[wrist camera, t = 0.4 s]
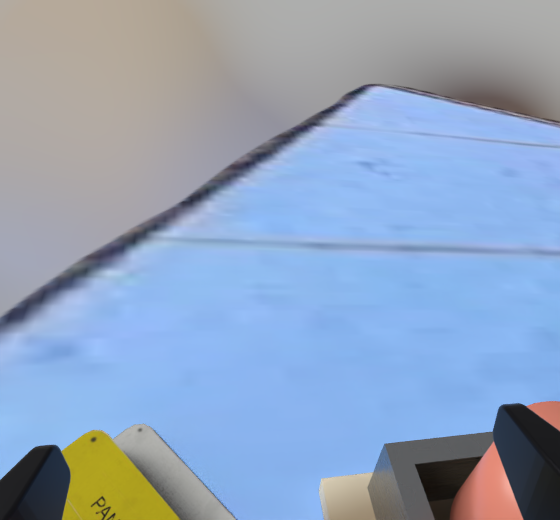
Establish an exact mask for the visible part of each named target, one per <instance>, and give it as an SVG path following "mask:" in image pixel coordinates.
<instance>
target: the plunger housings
mask: <svg viewBox="0 0 560 520" xmlns="http://www.w3.org/2000/svg"><path fill="white" fill-rule="evenodd" d="M493 442H494V440H493V432H486V433H477V434H468V435H459V436H450V437H441V438H432V439H423V440H414V441H405V442H396V443H388V444H384V446H383V449H382V451H381V454H380V457H379V459H378V462H377V464H376V467H375V469H374V472H373V474H372V477H371V480H370V482H369V485H368V487H367V488H368V492H369V496H370V500H371V503H372V507H373V511H374V514H375V518H376V520H435V519H434V516H433V513H432V511H431V508H430V505H429V502H431V501H439V500H447V499H454V498H455V496H456V494H457V492H458V490H459V489H460V488H461V486H462V485H463V483H464V482H465V481H466V479H467V478H468V476H469V475H470V474H471V472H472V471H473V470H474V468H475V467H476V465H477V464H478V463H479V461H480V460H481V458H482V457H483V456H484V454H485V453H486V451H487V450H488V449H489V447H490V446H491V444H492V443H493Z"/></svg>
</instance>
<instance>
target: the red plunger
mask: <svg viewBox="0 0 560 520" xmlns="http://www.w3.org/2000/svg"><path fill="white" fill-rule="evenodd" d="M526 407H528V408H529V409H530V410H532V411H533V412H535V413H536V414H537V415H539V416H540V417H541V418H543V419H544V420H546V421H547V422H548V423H550V424H551V425H552V426H554V427H555V428H557V429H558V430H559V431H560V402H557V401H548V402H540V403H534V404H531V405H529V406H526ZM450 520H523V518H522V515H521V513H520V510H519V508H518V505H517V502H516V500H515V497H514V494H513V492H512V489H511V486H510V484H509V481H508V478H507V476H506V473H505V470H504V468H503V465H502V462H501V459H500V457H499V454H498V451H497V449H496V446H495V443H494V442H493V443H492V444H491V446H490V447H489V449H488V450H487V451H486V453H485V454H484V456H483V457H482V458H481V460H480V461H479V463H478V464H477V465H476V467H475V468H474V470H473V471H472V472H471V474H470V475H469V476H468V478H467V479H466V481H465V482H464V483H463V485H462V486H461V488H460V489H459V490H458V492H457V494H456V496H455V498H454V500H453V503H452V506H451V512H450Z"/></svg>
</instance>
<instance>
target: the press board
mask: <svg viewBox="0 0 560 520" xmlns="http://www.w3.org/2000/svg"><path fill="white" fill-rule="evenodd" d="M372 474H373V473H364V474H356V475H348V476H339V477H331V478H323V479H321V483H320V488H319V495H320V500H321V506H322V511H323V516H324V520H376V518H375V514H374V511H373V507H372V503H371V500H370V496H369V492H368V488H367V487H368V485H369V482H370V480H371V477H372ZM453 500H454V499H447V500H439V501H431V502H429V505H430V508H431V511H432V513H433V516H434V519H435V520H450V512H451V506H452V503H453Z"/></svg>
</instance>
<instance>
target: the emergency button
mask: <svg viewBox="0 0 560 520" xmlns="http://www.w3.org/2000/svg"><path fill="white" fill-rule="evenodd" d="M61 452H62V454H63V456H64V458H65V460H66V462H67V464H68V466H69V468H70V473H71V479H70V485H69V489H68V494H67V499H66V503H65V508H64V512H63V517H62V520H236V519H235V518H234V517H233V515H232V514H231V513H230V512H229V511H228V510H227V509H226V508H225V507H224V506H223V505H222V504H221V503H220V501H219V500H218V499H217V498H216V497H215V496H214V495H213V494H212V493H211V492H210V491H209V490H208V489H207V487H206V486H205V485H204V484H203V483H202V482H201V481H200V480H199V479H198V478H197V477H196V476H195V474H194V473H193V472H192V471H191V470H190V469H189V468H188V467H187V466H186V465H185V464H184V463H183V462H182V460H181V459H180V458H179V457H178V456H177V455H176V454H175V453H174V452H173V451H172V450H171V449H170V448H169V446H168V445H167V444H166V443H165V442H164V441H163V440H162V439H161V438H160V437H159V436H158V435H157V433H156V432H155V431H154V430H153V429H152V428H151V427H149V426H147V425H145V424H138V425H133V426H131V427H129V428H128V429H126V430H124V431H123V432H122V433H120V434H119V435H118V436H117V437H115V438H114V439H112V438H111V437H110V436H109V434H107V433H106V432H104V431H102V430H92V431H90V432H88V433H85V434H84V435H82V436H81V437H80V438H78V439H77V440H76V441H74V442H73V443H72V444H70V445H69V446H68V447H66V448H65V449H64V450H62V451H61Z"/></svg>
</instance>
